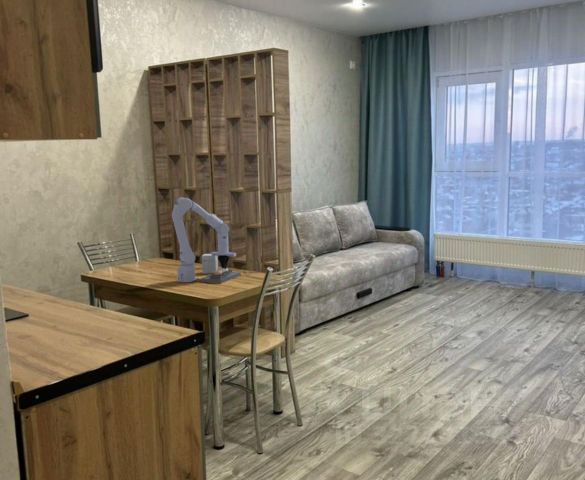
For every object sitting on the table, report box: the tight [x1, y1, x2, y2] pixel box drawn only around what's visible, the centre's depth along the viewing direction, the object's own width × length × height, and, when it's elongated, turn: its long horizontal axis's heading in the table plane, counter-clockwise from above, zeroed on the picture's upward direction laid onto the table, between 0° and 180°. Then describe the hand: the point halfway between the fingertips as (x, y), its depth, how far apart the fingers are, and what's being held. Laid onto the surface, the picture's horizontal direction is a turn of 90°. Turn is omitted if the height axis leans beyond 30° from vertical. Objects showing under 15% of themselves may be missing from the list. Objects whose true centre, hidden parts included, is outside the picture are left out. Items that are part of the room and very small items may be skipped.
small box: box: [201, 253, 219, 275], centre depth 324 cm, size 8×6×10 cm
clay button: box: [214, 271, 222, 276], centre depth 300 cm, size 4×4×2 cm
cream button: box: [217, 267, 225, 273], centre depth 306 cm, size 4×4×2 cm
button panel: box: [200, 268, 242, 284], centre depth 307 cm, size 21×12×3 cm, turn 156°
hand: (224, 269), depth 313 cm, fingers closed, pressing on sage button
